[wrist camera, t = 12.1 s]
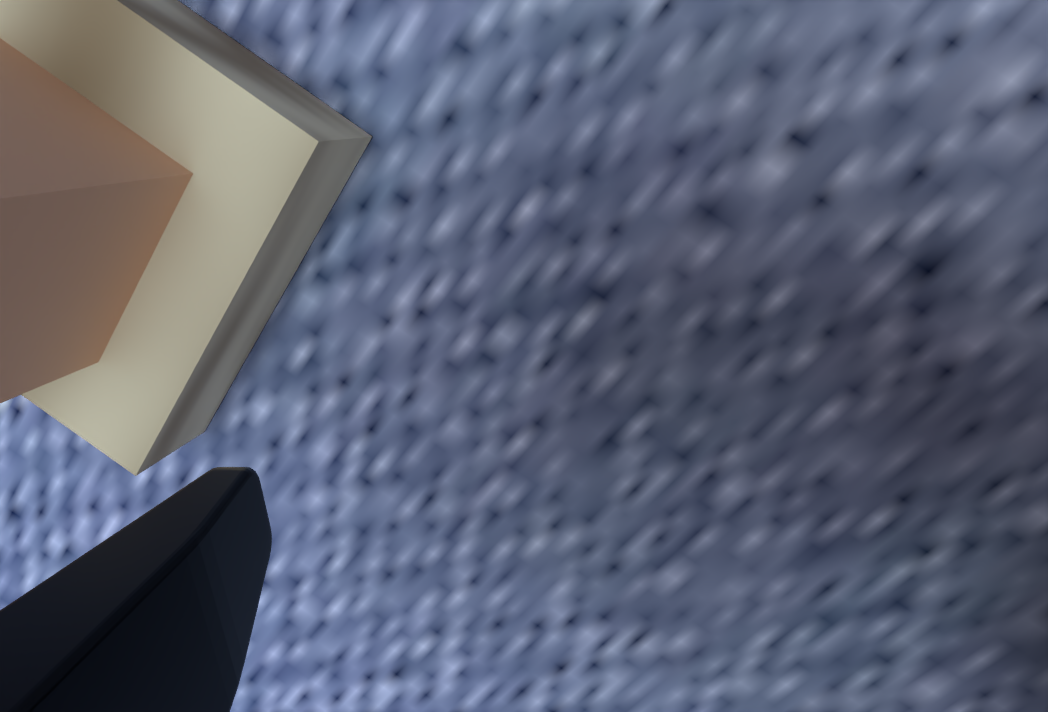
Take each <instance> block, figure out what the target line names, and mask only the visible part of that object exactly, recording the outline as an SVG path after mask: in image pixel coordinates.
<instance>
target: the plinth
mask: <svg viewBox="0 0 1048 712" xmlns="http://www.w3.org/2000/svg"><path fill="white" fill-rule="evenodd" d="M0 38H1V39H2V40H4V41H5V42H7V43H8V44H9V45H11V46H12V47H14V48H15V49H17V50H18V51H19V52H21V53H22V54H24V55H25V56H27V57H28V58H29V59H31V60H32V61H34V62H35V63H37V64H38V65H39V66H41V67H42V68H44V69H45V70H47V71H48V72H49V73H51V74H52V75H54V76H55V77H56V78H58V79H59V80H61V81H62V82H64V83H65V84H66V85H68V86H69V87H71V88H72V89H74V90H75V91H76V92H78V93H79V94H81V95H82V96H84V97H85V98H86V99H88V100H89V101H91V102H92V103H94V104H95V105H96V106H98V107H99V108H101V109H102V110H103V111H105V112H106V113H108V114H109V115H111V116H112V117H113V118H115V119H116V120H118V121H119V122H121V123H122V124H123V125H125V126H126V127H128V128H129V129H131V130H132V131H133V132H135V133H136V134H138V135H139V136H141V137H142V138H143V139H145V140H146V141H148V142H149V143H150V144H152V145H153V146H155V147H156V148H158V149H159V150H160V151H162V152H163V153H165V154H166V155H168V156H169V157H170V158H172V159H173V160H175V161H176V162H178V163H179V164H180V165H182V166H183V167H185V168H186V169H188V170H189V171H190V172H192V173H193V175H192V177H191V179H190V181H189V183H188V185H187V187H186V189H185V191H184V193H183V195H182V197H181V199H180V201H179V203H178V205H177V207H176V209H175V211H174V213H173V215H172V217H171V219H170V221H169V223H168V225H167V227H166V229H165V231H164V233H163V235H162V237H161V239H160V241H159V243H158V245H157V247H156V249H155V251H154V253H153V255H152V257H151V259H150V261H149V263H148V265H147V267H146V269H145V271H144V273H143V275H142V277H141V279H140V281H139V283H138V285H137V287H136V289H135V291H134V293H133V295H132V297H131V299H130V301H129V303H128V304H127V306H126V308H125V310H124V312H123V314H122V316H121V318H120V320H119V322H118V324H117V326H116V328H115V330H114V332H113V334H112V336H111V338H110V340H109V342H108V344H107V346H106V348H105V350H104V352H103V354H102V356H101V358H100V360H99V362H98V363H95V364H93V365H91V366H88V367H86V368H83V369H81V370H79V371H76V372H74V373H71V374H69V375H67V376H64V377H62V378H59V379H57V380H55V381H52V382H50V383H47V384H45V385H43V386H40V387H38V388H35V389H33V390H31V391H28V392H26V393H23V394H21V395H22V396H24V397H25V398H26V399H28V400H29V401H31V402H32V403H34V404H35V405H36V406H38V407H39V408H41V409H42V410H43V411H45V412H46V413H48V414H49V415H50V416H52V417H53V418H55V419H56V420H58V421H59V422H60V423H62V424H63V425H65V426H66V427H67V428H69V429H70V430H72V431H73V432H74V433H76V434H77V435H79V436H80V437H82V438H83V439H84V440H86V441H87V442H89V443H90V444H91V445H93V446H94V447H96V448H97V449H98V450H100V451H101V452H103V453H104V454H106V455H107V456H108V457H110V458H111V459H113V460H114V461H115V462H117V463H118V464H120V465H121V466H123V467H124V468H125V469H127V470H128V471H130V472H131V473H132V474H134V475H135V476H136V475H138V474H139V473H141V472H142V471H144V470H146V469H147V468H149V467H150V466H152V465H153V464H155V463H157V462H158V461H160V460H161V459H163V458H164V457H166V456H167V455H169V454H171V453H172V452H174V451H175V450H177V449H178V448H180V447H181V446H183V445H185V444H186V443H188V442H189V441H191V440H192V439H194V438H196V437H197V436H199V435H200V434H202V433H203V432H205V430H206V428H207V427H208V425H209V423H210V421H211V420H212V418H213V416H214V414H215V413H216V411H217V409H218V407H219V405H220V404H221V402H222V400H223V398H224V397H225V395H226V393H227V391H228V390H229V388H230V386H231V384H232V383H233V381H234V379H235V377H236V376H237V374H238V372H239V370H240V369H241V367H242V365H243V363H244V361H245V360H246V358H247V356H248V354H249V353H250V351H251V349H252V347H253V346H254V344H255V342H256V340H257V339H258V337H259V335H260V333H261V332H262V330H263V328H264V326H265V325H266V323H267V321H268V319H269V318H270V316H271V314H272V312H273V310H274V309H275V307H276V305H277V303H278V302H279V300H280V298H281V296H282V295H283V293H284V291H285V289H286V288H287V286H288V284H289V282H290V281H291V279H292V277H293V275H294V274H295V272H296V270H297V268H298V267H299V265H300V263H301V261H302V259H303V258H304V256H305V254H306V252H307V251H308V249H309V247H310V245H311V244H312V242H313V240H314V238H315V237H316V235H317V233H318V231H319V230H320V228H321V226H322V224H323V223H324V221H325V219H326V217H327V216H328V214H329V212H330V210H331V208H332V207H333V205H334V203H335V201H336V200H337V198H338V196H339V194H340V193H341V191H342V189H343V187H344V186H345V184H346V182H347V180H348V179H349V177H350V175H351V173H352V172H353V170H354V168H355V166H356V165H357V163H358V161H359V159H360V157H361V156H362V154H363V152H364V150H365V149H366V147H367V145H368V143H369V142H370V140H371V138H372V136H371V135H369V134H368V133H366V132H365V131H364V130H362V129H361V128H359V127H358V126H356V125H355V124H354V123H352V122H351V121H349V120H348V119H346V118H345V117H344V116H342V115H341V114H339V113H338V112H336V111H335V110H334V109H332V108H331V107H329V106H328V105H326V104H325V103H324V102H322V101H321V100H319V99H318V98H316V97H315V96H314V95H312V94H311V93H309V92H308V91H306V90H305V89H304V88H302V87H301V86H299V85H298V84H296V83H295V82H294V81H292V80H291V79H289V78H288V77H286V76H285V75H284V74H282V73H281V72H279V71H278V70H276V69H275V68H274V67H272V66H271V65H269V64H268V63H266V62H265V61H264V60H262V59H261V58H259V57H258V56H256V55H255V54H254V53H252V52H251V51H249V50H248V49H246V48H245V47H244V46H242V45H241V44H239V43H238V42H236V41H235V40H234V39H232V38H231V37H229V36H228V35H226V34H225V33H224V32H222V31H221V30H219V29H218V28H216V27H215V26H213V25H212V24H211V23H209V22H208V21H206V20H205V19H203V18H202V17H201V16H199V15H198V14H196V13H195V12H193V11H192V10H191V9H189V8H188V7H186V6H185V5H183V4H182V3H181V2H179V1H178V0H0Z"/></svg>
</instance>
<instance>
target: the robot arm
mask: <svg viewBox="0 0 1048 712" xmlns="http://www.w3.org/2000/svg"><path fill="white" fill-rule="evenodd" d="M271 545H272V535H271V527H270V523H269V518H268V514H267V510H266V505H265V501H264V496H263V492H262V488H261V483H260V480H259V477H258V475H257V473H256V471H254V470H253V469H251V468H249V467H217V468H213V469H211V470H210V471H208V472H206V473H205V474H203V475H202V476H200V477H199V478H197V479H196V480H194V481H193V482H191V483H190V484H188V485H187V486H185V487H184V488H182V489H181V490H179V491H178V492H176V493H175V494H174V495H172V496H171V497H169V498H168V499H166V500H165V501H163V502H162V503H160V504H159V505H157V506H156V507H154V508H153V509H151V510H150V511H148V512H147V513H145V514H144V515H142V516H141V517H139V518H138V519H136V520H135V521H133V522H132V523H130V524H129V525H127V526H126V527H124V528H123V529H121V530H120V531H118V532H117V533H115V534H114V535H112V536H111V537H109V538H108V539H106V540H105V541H103V542H102V543H100V544H99V545H97V546H96V547H94V548H93V549H91V550H90V551H88V552H87V553H85V554H84V555H82V556H81V557H79V558H78V559H76V560H75V561H73V562H72V563H71V564H69V565H68V566H66V567H65V568H63V569H62V570H60V571H59V572H57V573H56V574H54V575H53V576H51V577H50V578H48V579H47V580H45V581H44V582H42V583H41V584H39V585H38V586H36V587H35V588H33V589H32V590H30V591H29V592H27V593H26V594H24V595H23V596H21V597H20V598H18V599H17V600H15V601H14V602H12V603H11V604H9V605H8V606H6V607H5V608H3V609H2V610H0V712H230V709H231V706H232V703H233V700H234V697H235V694H236V691H237V688H238V685H239V681H240V678H241V674H242V670H243V666H244V662H245V658H246V654H247V650H248V646H249V641H250V637H251V633H252V629H253V625H254V620H255V616H256V612H257V608H258V603H259V599H260V595H261V591H262V587H263V582H264V578H265V574H266V570H267V566H268V561H269V557H270V552H271Z"/></svg>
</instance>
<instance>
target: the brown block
mask: <svg viewBox="0 0 1048 712" xmlns="http://www.w3.org/2000/svg"><path fill="white" fill-rule="evenodd" d="M192 175H193V173H192V172H190V171H189V170H188V169H186V168H185V167H183V166H182V165H180V164H179V163H178V162H176V161H175V160H173V159H172V158H170V157H169V156H168V155H166V154H165V153H163V152H162V151H160V150H159V149H158V148H156V147H155V146H153V145H152V144H150V143H149V142H148V141H146V140H145V139H143V138H142V137H141V136H139V135H138V134H136V133H135V132H133V131H132V130H131V129H129V128H128V127H126V126H125V125H123V124H122V123H121V122H119V121H118V120H116V119H115V118H113V117H112V116H111V115H109V114H108V113H106V112H105V111H103V110H102V109H101V108H99V107H98V106H96V105H95V104H94V103H92V102H91V101H89V100H88V99H86V98H85V97H84V96H82V95H81V94H79V93H78V92H76V91H75V90H74V89H72V88H71V87H69V86H68V85H66V84H65V83H64V82H62V81H61V80H59V79H58V78H56V77H55V76H54V75H52V74H51V73H49V72H48V71H47V70H45V69H44V68H42V67H41V66H39V65H38V64H37V63H35V62H34V61H32V60H31V59H29V58H28V57H27V56H25V55H24V54H22V53H21V52H19V51H18V50H17V49H15V48H14V47H12V46H11V45H9V44H8V43H7V42H5V41H4V40H2V39H1V38H0V403H2V402H4V401H7V400H9V399H11V398H14V397H16V396H19V395H21V394H23V393H26V392H28V391H31V390H33V389H35V388H38V387H40V386H43V385H45V384H47V383H50V382H52V381H55V380H57V379H59V378H62V377H64V376H67V375H69V374H71V373H74V372H76V371H79V370H81V369H83V368H86V367H88V366H91V365H93V364H95V363H98V362H99V360H100V358H101V356H102V354H103V352H104V350H105V348H106V346H107V344H108V342H109V340H110V338H111V336H112V334H113V332H114V330H115V328H116V326H117V324H118V322H119V320H120V318H121V316H122V314H123V312H124V310H125V308H126V306H127V304H128V303H129V301H130V299H131V297H132V295H133V293H134V291H135V289H136V287H137V285H138V283H139V281H140V279H141V277H142V275H143V273H144V271H145V269H146V267H147V265H148V263H149V261H150V259H151V257H152V255H153V253H154V251H155V249H156V247H157V245H158V243H159V241H160V239H161V237H162V235H163V233H164V231H165V229H166V227H167V225H168V223H169V221H170V219H171V217H172V215H173V213H174V211H175V209H176V207H177V205H178V203H179V201H180V199H181V197H182V195H183V193H184V191H185V189H186V187H187V185H188V183H189V181H190V179H191V177H192Z"/></svg>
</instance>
